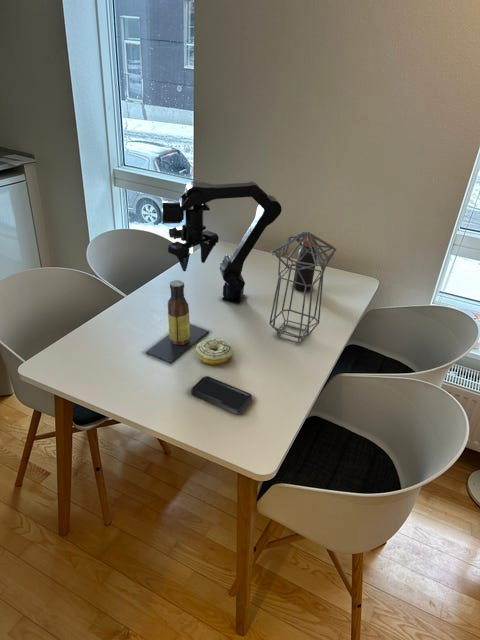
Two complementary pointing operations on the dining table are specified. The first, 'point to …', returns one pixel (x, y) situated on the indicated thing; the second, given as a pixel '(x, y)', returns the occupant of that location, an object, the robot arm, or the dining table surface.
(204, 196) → the robot arm
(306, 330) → the geometric lantern
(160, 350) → the mat
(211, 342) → the decorated donut
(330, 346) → the dining table surface
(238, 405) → the phone
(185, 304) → the sauce bottle
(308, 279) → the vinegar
